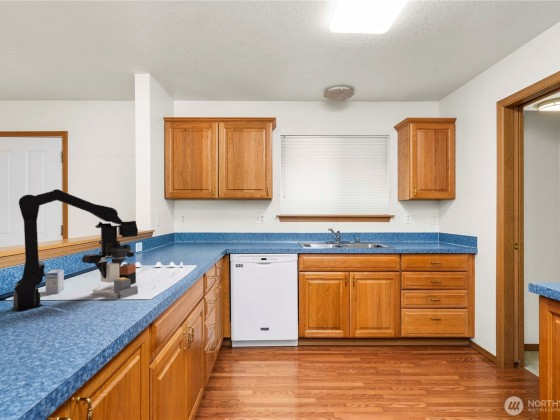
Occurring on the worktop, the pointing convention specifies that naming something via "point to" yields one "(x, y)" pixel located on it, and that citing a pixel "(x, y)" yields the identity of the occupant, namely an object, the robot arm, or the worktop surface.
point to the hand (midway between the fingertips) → (109, 277)
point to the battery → (128, 272)
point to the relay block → (121, 284)
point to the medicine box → (54, 281)
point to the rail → (120, 294)
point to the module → (111, 272)
